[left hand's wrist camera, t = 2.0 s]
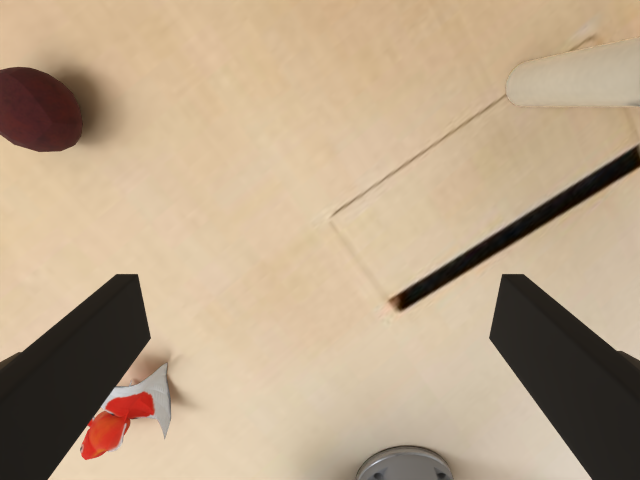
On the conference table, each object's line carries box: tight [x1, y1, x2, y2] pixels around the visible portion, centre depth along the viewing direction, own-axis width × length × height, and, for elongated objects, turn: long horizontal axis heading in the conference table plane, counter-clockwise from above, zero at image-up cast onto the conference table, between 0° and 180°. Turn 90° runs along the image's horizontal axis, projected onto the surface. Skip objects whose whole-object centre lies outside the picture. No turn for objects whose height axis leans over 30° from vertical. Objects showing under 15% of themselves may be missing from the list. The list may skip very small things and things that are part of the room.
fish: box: [80, 362, 171, 460], centre depth 46 cm, size 11×16×10 cm
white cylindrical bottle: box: [506, 36, 640, 107], centre depth 27 cm, size 4×4×18 cm
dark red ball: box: [0, 67, 83, 152], centre depth 33 cm, size 7×8×7 cm
